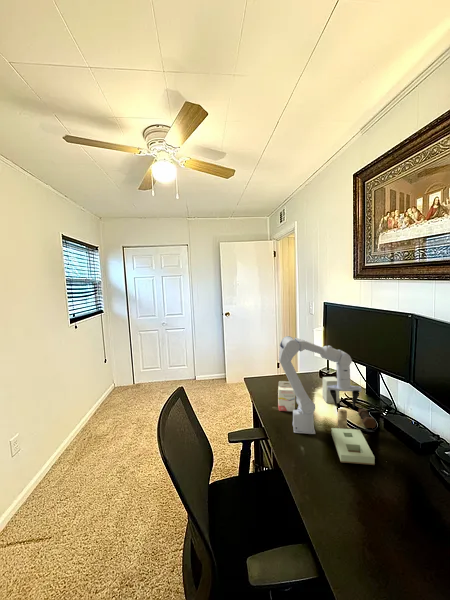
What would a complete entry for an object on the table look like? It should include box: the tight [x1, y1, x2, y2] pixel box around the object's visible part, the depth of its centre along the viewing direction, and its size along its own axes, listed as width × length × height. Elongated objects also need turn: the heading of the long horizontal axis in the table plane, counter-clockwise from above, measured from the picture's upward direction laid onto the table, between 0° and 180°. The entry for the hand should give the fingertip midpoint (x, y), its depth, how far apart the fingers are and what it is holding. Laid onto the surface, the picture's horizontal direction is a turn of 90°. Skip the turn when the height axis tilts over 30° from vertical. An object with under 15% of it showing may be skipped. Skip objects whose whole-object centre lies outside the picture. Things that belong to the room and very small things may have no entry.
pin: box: [337, 408, 348, 429], centre depth 139 cm, size 4×4×8 cm
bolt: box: [357, 407, 377, 430], centre depth 144 cm, size 6×5×15 cm
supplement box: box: [322, 376, 340, 404], centre depth 168 cm, size 7×7×13 cm
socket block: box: [330, 427, 376, 466], centre depth 122 cm, size 12×20×3 cm, turn 170°
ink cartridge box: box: [277, 380, 296, 412], centre depth 158 cm, size 9×5×15 cm, turn 84°
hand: (344, 406), depth 138 cm, fingers open, 7 cm apart
